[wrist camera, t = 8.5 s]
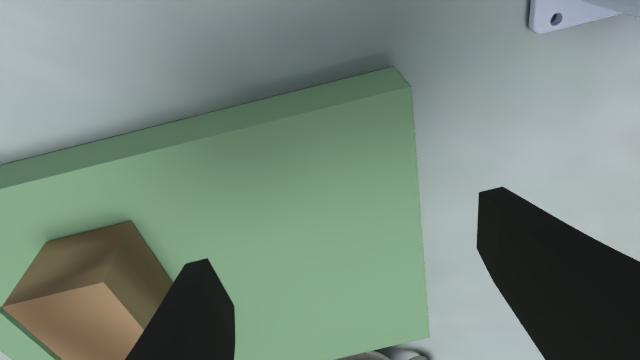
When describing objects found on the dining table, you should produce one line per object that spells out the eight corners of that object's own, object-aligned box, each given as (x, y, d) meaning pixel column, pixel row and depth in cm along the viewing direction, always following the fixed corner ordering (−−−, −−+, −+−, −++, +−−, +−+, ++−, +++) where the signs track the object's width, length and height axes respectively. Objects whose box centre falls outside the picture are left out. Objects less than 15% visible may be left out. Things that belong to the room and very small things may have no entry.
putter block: (130, 221, 17) (103, 282, 14) (224, 359, 24) (219, 419, 21) (45, 242, 17) (1, 306, 14) (163, 374, 24) (150, 436, 21)
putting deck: (393, 66, 17) (500, 189, 9) (417, 306, 27) (477, 458, 20) (-150, 202, 18) (-474, 424, 10) (73, 387, 28) (1, 566, 20)
